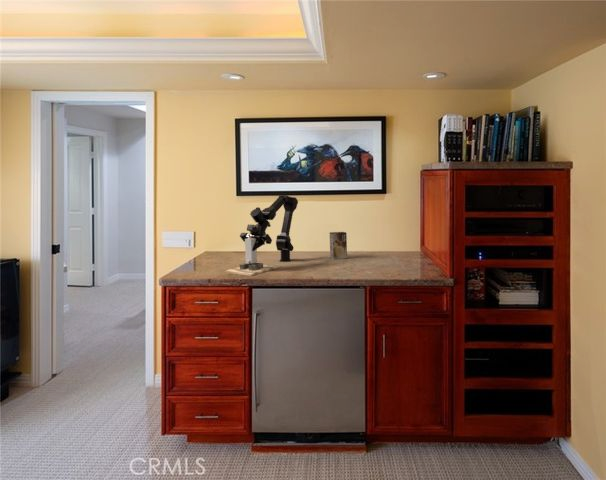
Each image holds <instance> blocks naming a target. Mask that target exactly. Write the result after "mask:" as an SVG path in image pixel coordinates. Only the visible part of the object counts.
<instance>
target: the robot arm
mask: <svg viewBox="0 0 606 480" xmlns="http://www.w3.org/2000/svg"><path fill="white" fill-rule="evenodd" d="M298 204H299V200H298V199H297V197H296V196H295V197H294V196H293V197H292V196H289V195H287V194H280V195H278V197H277V198H276V199H275V201H274V202H273V203H271V205H270V206H268V207H266V208H263V209H262V210H261V208H260V207H258V206H257V207H256V208H254V209H252V210H251V211H250V213H249V214H250V217H251V218H252V219H253V221H254V223H256V224H247V226H246V231H248V232H249V233H248V232H240V234H239V237H240V239H241V241H243V242H244V243H245V239H248V237H251V238H256V242H255V244H254V247H253V249H252V251H255V250H256V249H257V250H258V249H259V248H260V247H262V246H264V245H270V244H272V241H273V239H272V237H270V235H269V233H266V230H267V228H269V227H270V228H271V226H272V225H271V222H270V221H273V220H274V219H275V218H276V216H277V212H278V211H279V210H280V209H281V208H282V206H283V208H284V215H283V220H282V225H281V232H280V234H279V235H277V236H276V240H275V246H276V247H275V248H276V250H277V251H280V259H279V262H291V261H292V258H291V252H293V251H294V245H293V244H292V239H291V237H290V232H291V226H292V220H293V216H294V215H293V214H294V212H295V211H296V210H297V207H298Z"/></svg>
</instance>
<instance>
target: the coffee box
mask: <svg viewBox="0 0 606 480" xmlns="http://www.w3.org/2000/svg"><path fill="white" fill-rule="evenodd" d="M347 238H348V237H347V232H345V231H334V232H333V231H332V232H329V258H330V259H332V260H344V259H348V245H347V243H348V242H347Z"/></svg>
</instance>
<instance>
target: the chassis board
mask: <svg viewBox="0 0 606 480" xmlns="http://www.w3.org/2000/svg"><path fill="white" fill-rule="evenodd" d="M278 267H279V266H278V265H270V264H269V265H268V264H264V263H263V262H255V263H249V264H247V263H246V262H244V263H241V264H239V266H238V267H235V268H229V269H227V270H224V271H223V272H224V273H225V274H231V275H232V274H233V275H242V276H249V277H252V276H255V275H258V274H262V273H265V272H269V271H272V270H276V269H278Z"/></svg>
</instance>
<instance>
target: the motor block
mask: <svg viewBox="0 0 606 480" xmlns="http://www.w3.org/2000/svg"><path fill="white" fill-rule="evenodd" d="M255 242H256V238H251V237H248V239H245V242H244V252H245V253H244V256H245V263H247V264H249V263H258V254H257V253H258V251H257V250H258V248H257V249H256V250H255V251H252V249H253V247H254V244H255Z"/></svg>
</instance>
